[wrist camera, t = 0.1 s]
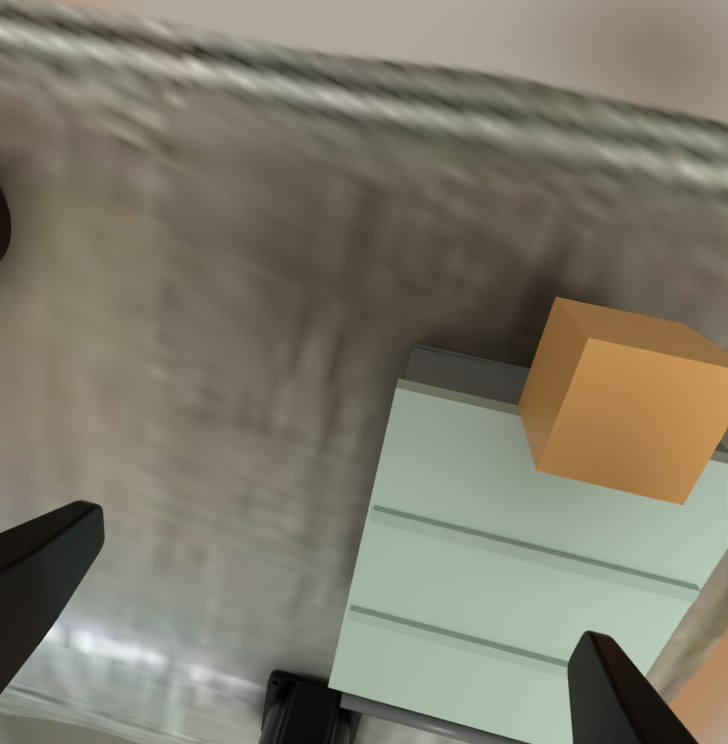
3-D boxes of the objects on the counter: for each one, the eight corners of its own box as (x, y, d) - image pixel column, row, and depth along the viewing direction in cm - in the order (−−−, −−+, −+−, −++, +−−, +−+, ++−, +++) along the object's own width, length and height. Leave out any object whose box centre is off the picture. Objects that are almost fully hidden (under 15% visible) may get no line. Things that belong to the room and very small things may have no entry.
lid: (586, 741, 23) (611, 848, 20) (331, 671, 24) (311, 761, 21) (827, 354, 15) (949, 415, 11) (423, 269, 16) (415, 300, 12)
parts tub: (549, 661, 29) (572, 776, 23) (350, 608, 30) (329, 707, 24) (681, 402, 21) (759, 482, 16) (413, 342, 22) (402, 400, 17)
